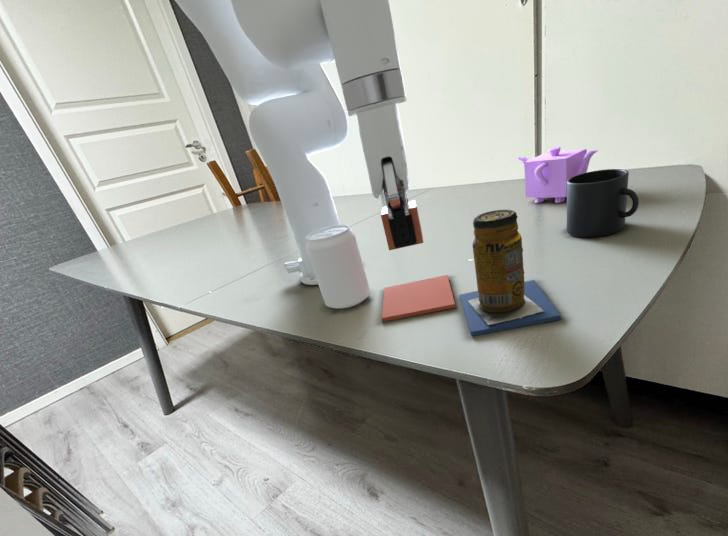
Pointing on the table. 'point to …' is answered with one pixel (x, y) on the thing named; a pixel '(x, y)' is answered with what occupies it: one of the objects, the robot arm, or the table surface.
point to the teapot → (553, 172)
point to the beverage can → (338, 266)
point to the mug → (598, 202)
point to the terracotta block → (416, 222)
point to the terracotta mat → (417, 298)
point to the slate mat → (535, 295)
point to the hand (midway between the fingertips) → (405, 238)
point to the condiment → (499, 268)
